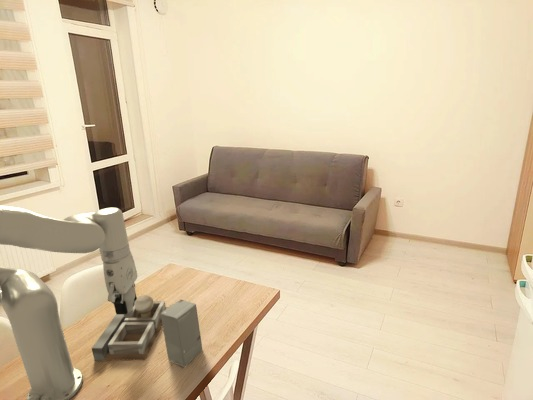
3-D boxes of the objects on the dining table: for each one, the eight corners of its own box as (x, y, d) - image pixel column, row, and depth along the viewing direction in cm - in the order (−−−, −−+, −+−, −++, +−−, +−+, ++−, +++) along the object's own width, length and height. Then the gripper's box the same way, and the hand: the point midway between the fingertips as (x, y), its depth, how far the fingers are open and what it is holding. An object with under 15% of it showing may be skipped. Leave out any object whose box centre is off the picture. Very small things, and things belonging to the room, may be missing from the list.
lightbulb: (126, 326, 97) (119, 293, 94) (114, 320, 101) (106, 288, 97) (144, 314, 102) (138, 283, 99) (131, 308, 105) (125, 277, 102)
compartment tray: (145, 360, 98) (139, 331, 95) (94, 360, 99) (87, 332, 96) (170, 309, 121) (166, 285, 118) (129, 309, 121) (124, 285, 118)
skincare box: (184, 368, 94) (177, 320, 89) (166, 360, 98) (158, 313, 93) (204, 348, 101) (198, 303, 96) (186, 341, 104) (179, 297, 100)
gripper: (114, 266, 86) (127, 325, 92) (140, 238, 103) (149, 289, 108) (85, 267, 87) (100, 326, 92) (116, 239, 103) (127, 290, 109)
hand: (126, 306), depth 100 cm, fingers closed on lightbulb, 5 cm apart
